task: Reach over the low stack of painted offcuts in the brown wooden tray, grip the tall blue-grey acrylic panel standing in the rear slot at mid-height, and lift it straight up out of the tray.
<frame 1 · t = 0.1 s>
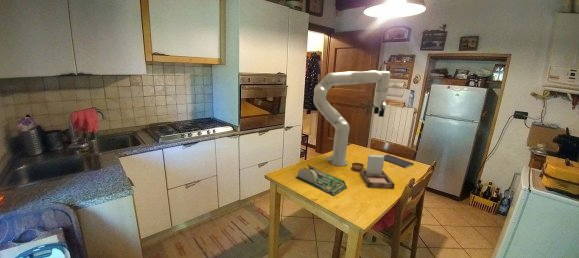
hand: (378, 115, 165), 37 cm above the table, tool pointing down, fingers open, 9 cm apart
notebook: (395, 162, 182), on the table
acrylic panel: (373, 178, 152), on the table
brown wooden tray: (375, 181, 147), on the table
green board with half-disc: (320, 181, 147), on the table
offcut top: (377, 183, 144), point 1 cm above the table, touching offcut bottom
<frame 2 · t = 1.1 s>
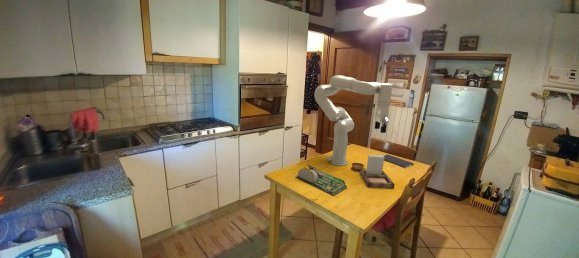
hand: (379, 130, 151), 30 cm above the table, tool pointing down, fingers open, 9 cm apart
nothing on the table moved.
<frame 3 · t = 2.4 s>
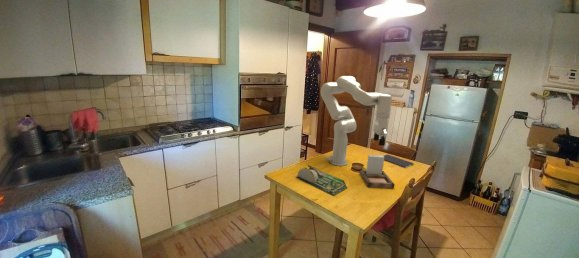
hand: (378, 142, 146), 24 cm above the table, tool pointing down, fingers open, 9 cm apart
nothing on the table moved.
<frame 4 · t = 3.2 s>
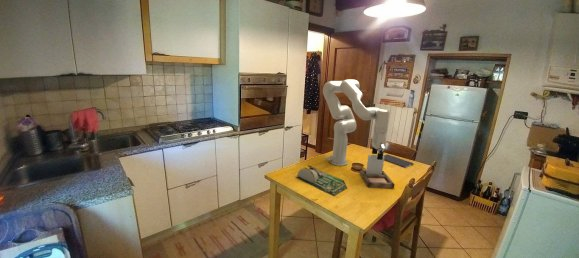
hand: (376, 156, 148), 15 cm above the table, tool pointing down, fingers open, 9 cm apart
nothing on the table moved.
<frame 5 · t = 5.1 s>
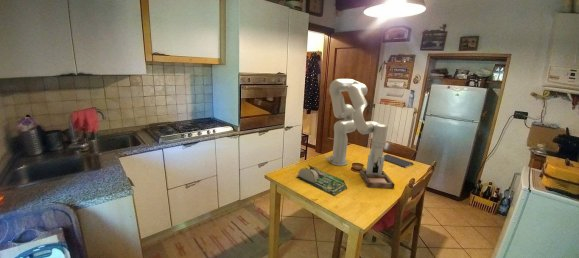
hand: (374, 171, 151), 5 cm above the table, tool pointing down, fingers closed on acrylic panel, 3 cm apart
acrylic panel: (373, 178, 152), on the table, touching gripper
everything else where it was.
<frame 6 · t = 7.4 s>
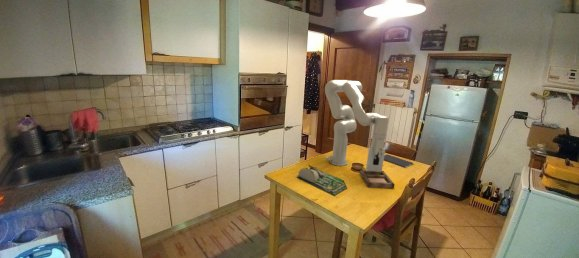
hand: (374, 163, 150), 10 cm above the table, tool pointing down, fingers closed on acrylic panel, 3 cm apart
acrylic panel: (373, 170, 151), point 5 cm above the table, touching gripper
everything else where it was.
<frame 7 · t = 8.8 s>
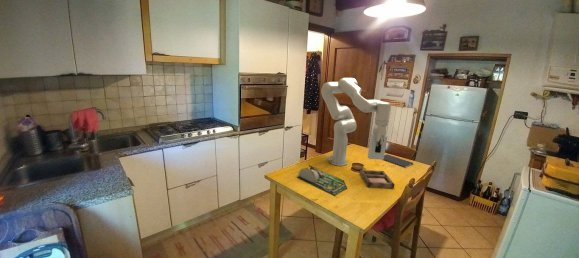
hand: (376, 151, 148), 18 cm above the table, tool pointing down, fingers closed on acrylic panel, 3 cm apart
acrylic panel: (375, 158, 149), point 13 cm above the table, touching gripper
everything else where it was.
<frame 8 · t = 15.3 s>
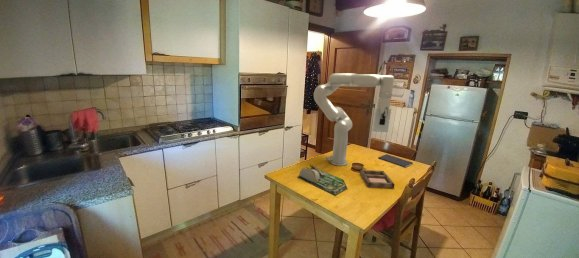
hand: (380, 123, 154), 33 cm above the table, tool pointing down, fingers closed on acrylic panel, 3 cm apart
acrylic panel: (379, 131, 155), point 28 cm above the table, touching gripper
at the end: acrylic panel point 28.3 cm above the table; the gripper is holding acrylic panel; offcut top moved 0.8 cm from its start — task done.
